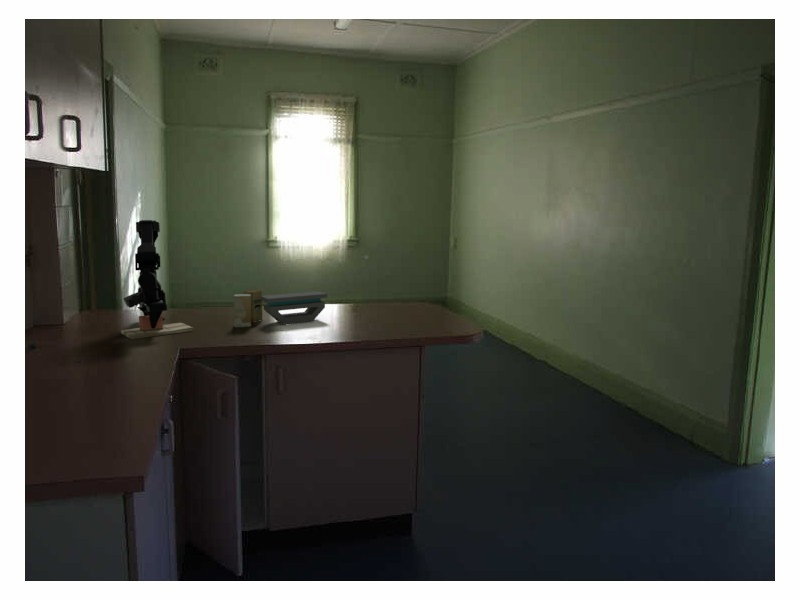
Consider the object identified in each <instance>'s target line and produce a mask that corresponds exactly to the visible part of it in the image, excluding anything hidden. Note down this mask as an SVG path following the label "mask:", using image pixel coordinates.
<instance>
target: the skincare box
mask: <svg viewBox="0 0 800 600" xmlns="http://www.w3.org/2000/svg"><path fill="white" fill-rule="evenodd" d="M233 300H234V301H233V310H234V314H233V315H234V316H233V317H234V319H233V321H234V328H245V327H244V326H251V327H252V322H251V294H244V293H243V294H242V293H241V294H240V293H239V294H234V295H233Z"/></svg>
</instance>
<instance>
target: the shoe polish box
mask: <svg viewBox="0 0 800 600" xmlns="http://www.w3.org/2000/svg"><path fill="white" fill-rule="evenodd" d="M262 292H263V291H262V290H256V289H255V290H254V289H250V290H244V291H243V294H251V321H252V322H251V323H256V322H255V321H258V322H260V321H259V320H262V321H263V301H262V300H261V296H263V293H262Z"/></svg>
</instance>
